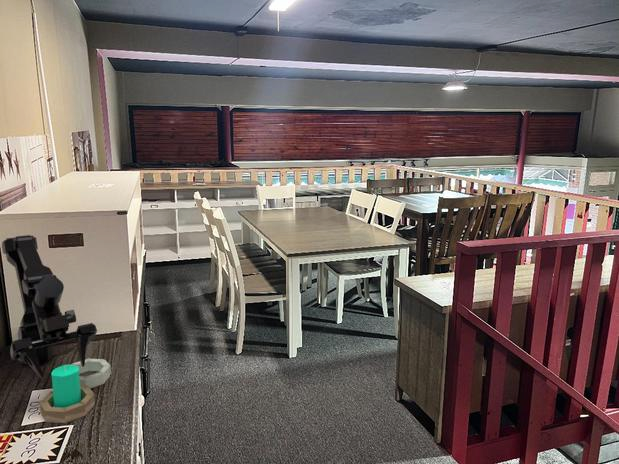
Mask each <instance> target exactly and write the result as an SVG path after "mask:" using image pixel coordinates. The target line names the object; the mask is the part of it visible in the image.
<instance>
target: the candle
mask: <svg viewBox="0 0 619 464" xmlns="http://www.w3.org/2000/svg"><path fill="white" fill-rule="evenodd" d="M80 376H81V375H80V374H79V368H78V366H74V365H71V364H68V363H67V364H63V365H60V366H58V367H56V368H54V369H53V370H52V372H51V382H52V383H51V385H52V391H53V398H54V407H58V408H66V407H69V406H72V405H75V404H77V403H80V402H81V401H82V400H81V391H80Z"/></svg>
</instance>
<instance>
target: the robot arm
mask: <svg viewBox="0 0 619 464" xmlns="http://www.w3.org/2000/svg"><path fill="white" fill-rule="evenodd" d="M1 249H2V253H3V255H5V257H6V261H7V262H8V263H10V265H12V266H13V267H14V270H15V274H16V279H17V283H18V289H19V294H20V298H21V302H22V306H23V307H22V308H23V312H24V313H23V315H22V317H21V320H20V323H19V325H20V326H19V327H18V331H17V339H16V340H13V341H12V343H11V345H10V351H9V353H10V357H11V361H16V360H18V361H19V362H20V364H21V365H28V366H29V367H30V368H31V369H32V370H33V371H34V373H36V375H37V376H38V377H39V378H40V379H44V373H43V370H42V367H41V366H43V365H45V364H46V363H48V362H49V361H50V360H51V359H52V358H53V357H54V356H55V353H54V351H53V346H54V345H57V344H61V343H64V342H68V341H69V342H70V341H73V340H76V342H77V344H76V348H77V351H78V356H79V361H80V362H81V365H82V367H84V365H85V360H86V352H87V345H88V344H90V343H91V341H92V340H94V339H95V337H96V335H97V332H98V329H97V326H96V324H94V323H93V322H90V323H86V324H80V325H78V326H77V329H76V330H75V331H72V332H71V331H70V332H68V331H69V328H70V324H72V323H76V322H77V316H76V312H75V310H74V309H71V310H66V311H64V314H63V313H62V311H61V308H60V305H59V303H60V302H61V298H62V296H63V292H64V288H65V286H64V283H63V281H61V280H60V279H59V278H58V277H57V275H56V274H54V272H53V271H52V269H51V268H50V267H48V266H47V265H44V264H43V261H42V259H41V257H40V255H39V252H38V249H39V247H38V241H37V237H35V236H34V235H30V234H25V235H17V236H15V237H9V238H8V237H6V238H5V240H3V241H2V242H1Z"/></svg>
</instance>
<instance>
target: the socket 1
mask: <svg viewBox="0 0 619 464" xmlns="http://www.w3.org/2000/svg"><path fill="white" fill-rule="evenodd" d="M80 391H81V402H80V403H77V404H75V405H72V406H69V407H66V408H58V407H54V398H53V390H52V391H49V393H47V394H46V395H45V396H44V397H43V398H42V399H41V400H40V401H39V413H40V416H41V417H42V418H43V419H44V421H45V423H50V424H51V423H53V424H54V423H55V424H67V423H69V422H73V421H74V420H77V419H80V418H82V417H85V416H87V415H88V413H89V412H90V411H91V410H92V409H93V407H94V406H95V393H94V391H92V388H89V387H88V386H80Z"/></svg>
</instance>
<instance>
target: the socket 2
mask: <svg viewBox="0 0 619 464" xmlns="http://www.w3.org/2000/svg"><path fill="white" fill-rule="evenodd" d="M70 365H74V366H78V368H79V376H80V386H88V387H89V388H90V389H92V388H96V387H98V386H101V385H104V384H105V383H106V382H107V381H108V379H109V378H110V377H111V376H112V372H111V371H112V369H111V368H112V367H111V364H110V363H109V362H107V360H106V359H102V358H85V365H84V367H82V365H81V362H80V360H79V361H76V362H74V363H73V362H72V363H70ZM86 372H96V373H93V374H90V375H86V376H81V374H83V373H86ZM110 375H111V376H110Z"/></svg>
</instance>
